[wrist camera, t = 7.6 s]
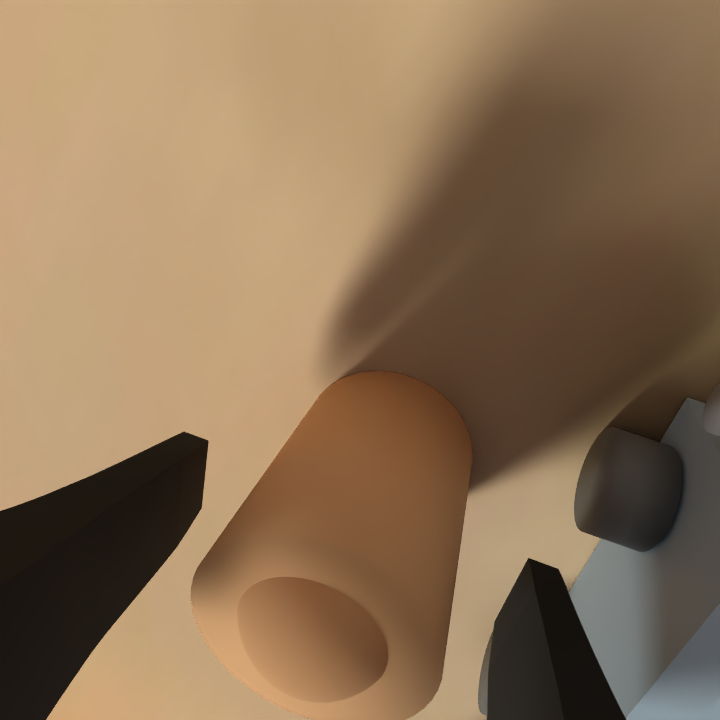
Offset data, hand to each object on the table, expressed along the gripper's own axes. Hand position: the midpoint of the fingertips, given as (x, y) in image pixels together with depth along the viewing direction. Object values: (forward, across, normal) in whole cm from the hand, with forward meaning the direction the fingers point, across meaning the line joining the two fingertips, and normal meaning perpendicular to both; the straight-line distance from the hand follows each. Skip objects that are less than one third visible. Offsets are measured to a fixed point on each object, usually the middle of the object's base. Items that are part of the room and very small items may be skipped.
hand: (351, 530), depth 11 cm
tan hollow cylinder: (+3, 0, 0) cm, 3 cm away
